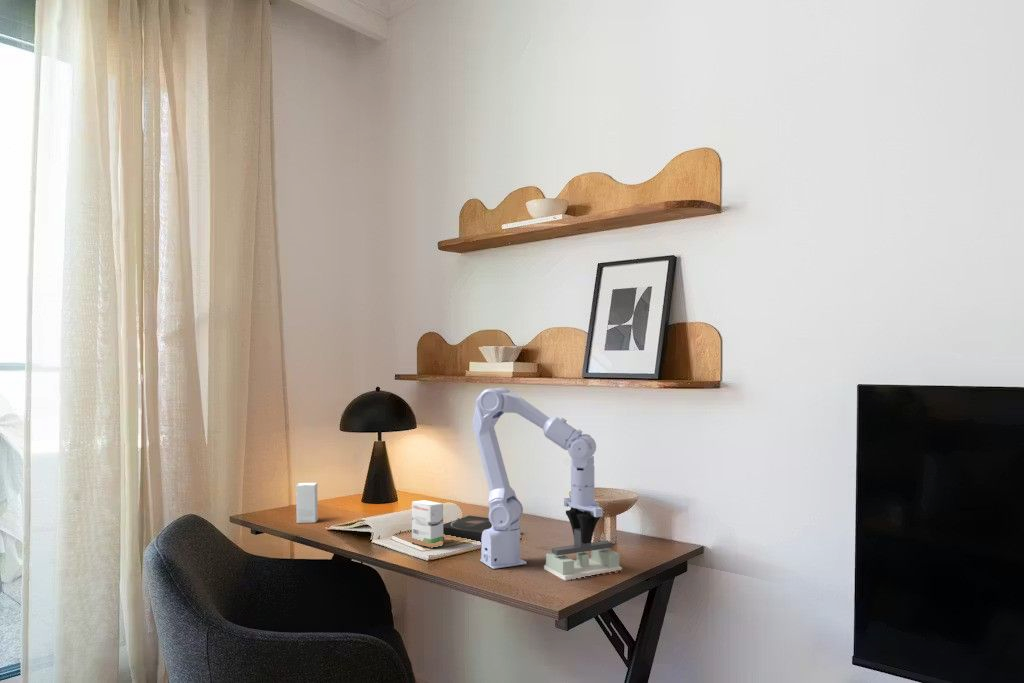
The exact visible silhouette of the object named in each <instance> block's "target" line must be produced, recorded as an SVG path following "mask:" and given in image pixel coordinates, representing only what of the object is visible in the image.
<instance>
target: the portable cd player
mask: <svg viewBox="0 0 1024 683" xmlns="http://www.w3.org/2000/svg"><path fill="white" fill-rule="evenodd" d="M491 527H492V524H491V523H490V521H489V517H483V516H477V515H467V516H463V517H461V518H459V519H454V520H452V521H449V522H446V523H443V534H445V535H451V536H456V537H461V538H467V539H471V540H476V541H480V542H481V538H482V533H483V531H484V530H486V529H490V528H491Z"/></svg>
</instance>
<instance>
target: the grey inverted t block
mask: <svg viewBox="0 0 1024 683" xmlns="http://www.w3.org/2000/svg"><path fill="white" fill-rule="evenodd" d="M613 545H614V542H612V541H610V540H602V541H601V540H600V541H594V542H593V541H591V543H586V544H584V543H582V538H581V528H578V529H574V535H573V544H571V545H563V546H556V547H552V548H551V553H553V554H555V555H557V556H558V555H564V556H566V555H570V554H577V553H580V552H585V553H587V552H591V551H593V550H600V549H611V548H614V546H613Z"/></svg>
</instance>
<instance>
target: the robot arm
mask: <svg viewBox="0 0 1024 683" xmlns="http://www.w3.org/2000/svg"><path fill="white" fill-rule="evenodd" d="M505 413H510V414H511V413H513V414H517V415H519V416H521V417H522V418H524V419H526V420H527V421H528V422H530V423H532V424H534V425H536V426H537V427H539V428H540V429H542V430H543V435H544V437H545V438H546V439H548V440H549V441H551V442H552V443H554V444H555V445H557V446H558V447H559V448H561V449H563V450H564V451H568V455H569V456H570V458H571V463H570V464H571V466H570V497H567V498H566V497H564V498H563V506H564V507H570V509H569V510H565V515H566V517H567V519H568V520H569V523H570V526H571V529H572V533H573V534H572V535H573V536H574V529H578V528H581V538H582V543H584V544H586V543H592V542H593V541H592V540H593V536H594V532H595V528H596V526H597V523H598V522H599V521H600V520H601V517H602V518H603V516H604V510H603V507H600V506H599V502H597V501H595V464H594V463H595V456H594V454H595V453H596V451H597V443H596V441H595V439H594V438H593V437H592V436H591V435H590V434H587V433H583V431H582V430H581V429H576V428H574V427H573V426H572V425H570V424H569V423H567V419H565V418H564V417H561V418H559V417H553V418H550V417H549V416H547V415H546V414H545V413H544V412H542V411H541V410H539V408H536V407H535V406H534V405H532V404H531V403H530V402H528V401H527V400H525V399H524V398H522V397H521V396H519V395H518V394H517V393H515V392H513V391H511V390H509V389H507V388H506V387H502V386H501V387H497V388H486V389H484V390H483V391H481V393H480V394H479V396H478V397H477V398H476V400H475V409H474V414H473V418H472V430H473V432H474V433H473V434H474V436H475V441H476V445H477V447H478V451H479V452H478V453H479V454H480V459H481V463H482V467H483V470H484V474H485V478H486V481H487V485H488V489H489V496H488V500H487V502H488V506H489V507H488V508H489V510H488V518H489V521H490V523H491V524H492V527H491V528H490V529H486V530H484V531H483V533H482V538H481V546H480V547H481V548H480V550H481V554H480V555H481V556H480V559H479V561H480V562H481V563H483V564H484V565H486V566H488V567H490V569H493V570H495V569H500V568H507V567H514V566H522V565H527V561H525V560H524V559H522V558H521V523H520V519H521V518H522V516H523V513H524V507H523V504H522V503H521V501H520V500H519V498H517V494H516V492H515V490H514V489H513V488H512V487H511V485H510V482H509V481H510V480H509V478H508V474H507V470H506V467H505V463H504V459H503V455H502V451H501V448H500V444H499V439H498V437H497V433H496V430H495V426H496V424H497V422H498V421H499V419H500V418H501V416H503V415H504V414H505Z"/></svg>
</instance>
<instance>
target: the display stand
mask: <svg viewBox="0 0 1024 683" xmlns="http://www.w3.org/2000/svg"><path fill="white" fill-rule="evenodd" d="M543 569H544V570H545V571H546V572H548V573H551V575H554V576H556V577H558V578H559V579H561V580H563V581H564V582H565V581H571V579H572V580H577V579H576V578H578V579H582V578H581V577H584V578H586V577H585V576H591V575H595V574H600V573H605V572H611V571H616V570H621V569H622V570H623V567H622V566H621V565H620V553H619V552H616V551H614V550H611V549H610V548H607V549H600V550H593V551H590V554H589V553H588V552H579V553H576V559H575V560H574V559H571V558H569V557H568V556H566V555H558V556H557V555H555V554H553V553H552V552H549V553H548V552H547V553H545V564H544V565H543ZM591 577H592V576H591Z"/></svg>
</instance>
